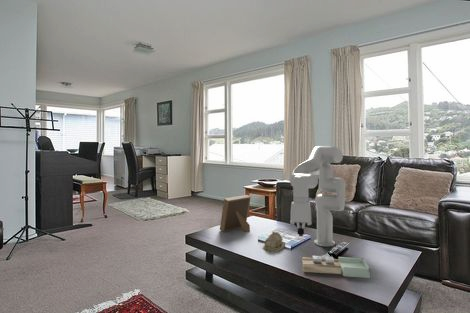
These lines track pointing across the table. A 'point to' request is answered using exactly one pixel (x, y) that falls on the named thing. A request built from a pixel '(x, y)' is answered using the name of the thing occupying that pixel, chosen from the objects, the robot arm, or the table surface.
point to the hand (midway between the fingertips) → (300, 235)
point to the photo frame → (235, 213)
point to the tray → (354, 267)
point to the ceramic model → (274, 242)
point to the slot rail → (320, 266)
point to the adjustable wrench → (326, 254)
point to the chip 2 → (329, 260)
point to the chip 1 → (317, 260)
